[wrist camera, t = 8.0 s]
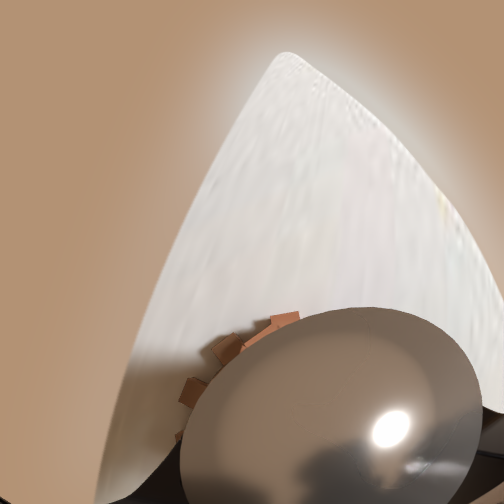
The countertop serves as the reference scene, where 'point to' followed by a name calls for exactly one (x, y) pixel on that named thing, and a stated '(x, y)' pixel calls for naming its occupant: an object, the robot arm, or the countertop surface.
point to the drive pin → (337, 416)
